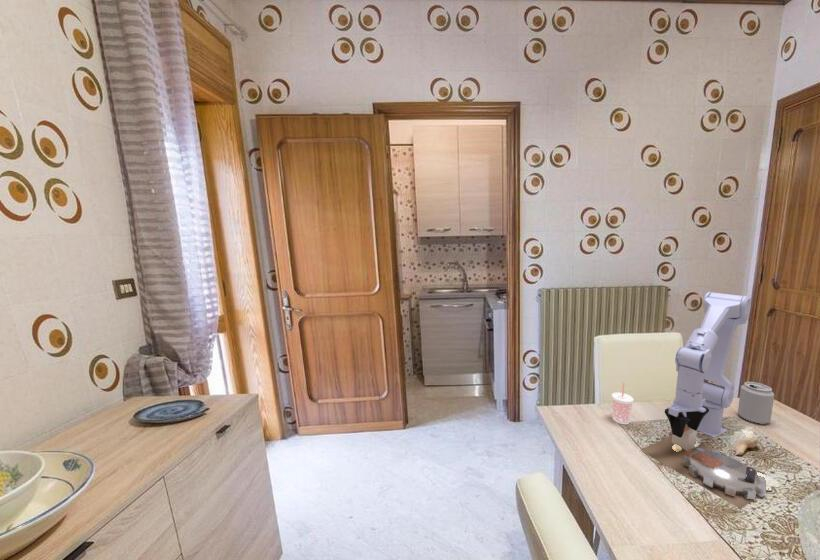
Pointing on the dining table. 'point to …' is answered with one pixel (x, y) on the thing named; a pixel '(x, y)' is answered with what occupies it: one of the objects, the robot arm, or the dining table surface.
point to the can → (756, 402)
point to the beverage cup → (622, 407)
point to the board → (675, 461)
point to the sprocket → (725, 473)
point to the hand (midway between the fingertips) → (684, 431)
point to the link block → (686, 439)
